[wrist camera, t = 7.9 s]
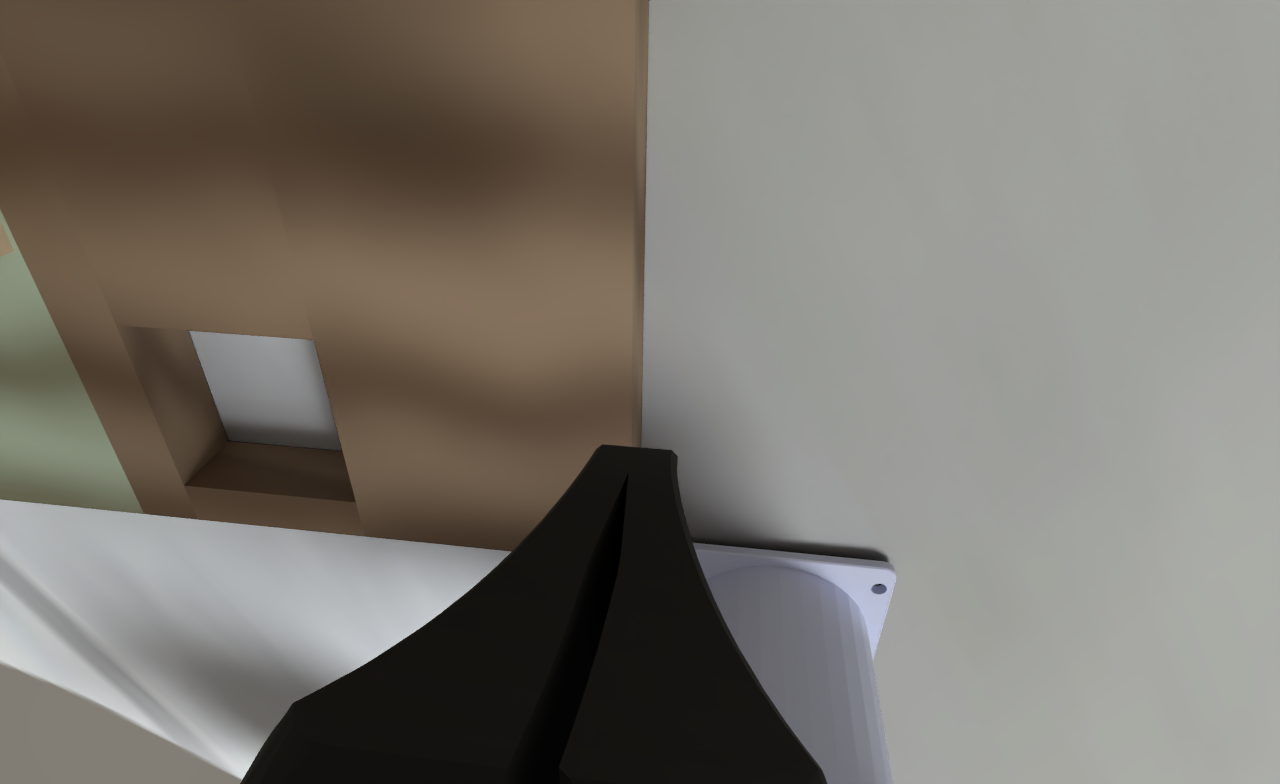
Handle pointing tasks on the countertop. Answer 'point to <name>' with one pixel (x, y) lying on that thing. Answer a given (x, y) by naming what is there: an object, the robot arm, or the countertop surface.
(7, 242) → the maple cube
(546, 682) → the robot arm
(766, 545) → the countertop surface
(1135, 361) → the countertop surface
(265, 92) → the trap board
